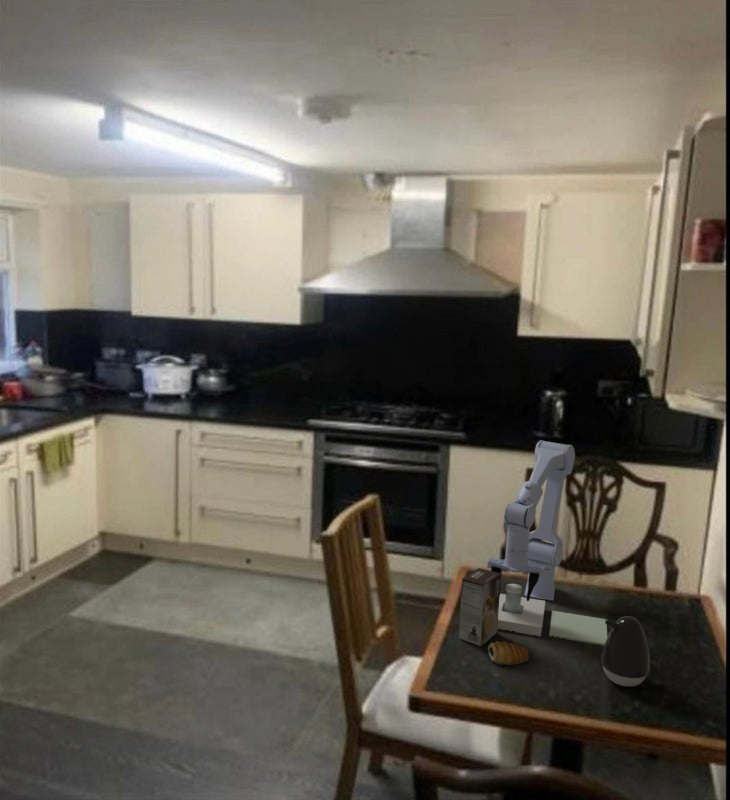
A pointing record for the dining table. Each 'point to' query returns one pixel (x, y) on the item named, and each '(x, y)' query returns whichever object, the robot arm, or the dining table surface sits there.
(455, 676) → the dining table surface
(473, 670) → the dining table surface
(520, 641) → the dining table surface
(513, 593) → the cartridge
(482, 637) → the coffee box
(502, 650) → the pastry
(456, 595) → the dining table surface
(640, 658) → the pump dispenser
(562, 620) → the mat
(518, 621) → the housing
